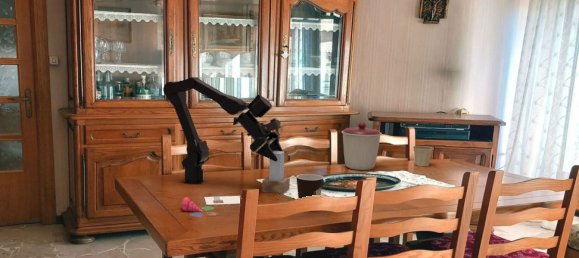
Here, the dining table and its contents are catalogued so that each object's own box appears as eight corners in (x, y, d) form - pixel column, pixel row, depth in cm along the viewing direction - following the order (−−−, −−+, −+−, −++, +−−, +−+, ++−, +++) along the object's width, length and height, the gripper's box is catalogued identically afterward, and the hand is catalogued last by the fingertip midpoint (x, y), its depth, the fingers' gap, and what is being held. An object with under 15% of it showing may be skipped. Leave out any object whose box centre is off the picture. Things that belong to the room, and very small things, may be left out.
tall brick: (269, 180, 177) (269, 152, 176) (273, 177, 182) (273, 150, 181) (279, 181, 176) (280, 153, 175) (283, 178, 181) (284, 151, 180)
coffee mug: (303, 212, 153) (304, 181, 152) (290, 205, 161) (291, 175, 160) (335, 208, 159) (336, 178, 157) (321, 201, 166) (322, 172, 165)
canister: (351, 162, 237) (353, 118, 234) (386, 168, 226) (389, 122, 224) (332, 168, 222) (334, 121, 220) (368, 174, 212) (371, 125, 209)
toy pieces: (179, 218, 144) (179, 204, 144) (181, 207, 155) (182, 194, 155) (221, 218, 146) (221, 203, 146) (220, 207, 157) (220, 193, 157)
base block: (262, 191, 177) (262, 180, 176) (268, 186, 185) (269, 176, 184) (283, 193, 175) (283, 182, 174) (289, 188, 183) (289, 178, 182)
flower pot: (434, 167, 231) (435, 149, 230) (414, 167, 231) (415, 148, 230) (429, 163, 240) (430, 146, 239) (409, 163, 240) (410, 145, 239)
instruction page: (206, 205, 158) (206, 204, 158) (204, 197, 167) (204, 196, 167) (243, 203, 161) (243, 203, 161) (239, 196, 170) (239, 195, 169)
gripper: (259, 113, 168) (289, 148, 167) (275, 109, 186) (302, 140, 185) (237, 135, 171) (266, 169, 170) (255, 128, 189) (281, 159, 188)
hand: (280, 158), depth 178 cm, fingers open, 9 cm apart
